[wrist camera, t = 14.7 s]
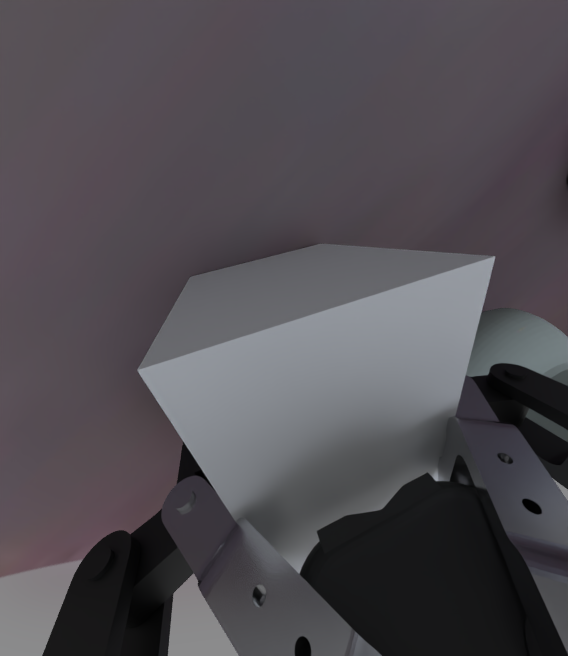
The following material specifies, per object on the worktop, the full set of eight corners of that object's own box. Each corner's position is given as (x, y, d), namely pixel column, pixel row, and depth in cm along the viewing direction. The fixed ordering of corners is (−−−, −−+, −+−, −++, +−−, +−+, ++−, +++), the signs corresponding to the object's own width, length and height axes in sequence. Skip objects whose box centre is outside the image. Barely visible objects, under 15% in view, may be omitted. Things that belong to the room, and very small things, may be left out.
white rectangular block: (190, 276, 10) (137, 370, 3) (321, 243, 11) (496, 255, 4) (255, 438, 15) (289, 604, 8) (338, 403, 16) (428, 523, 9)
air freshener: (499, 349, 20) (718, 437, 11) (438, 412, 21) (594, 535, 13) (459, 282, 15) (798, 347, 6) (382, 369, 16) (578, 525, 8)
